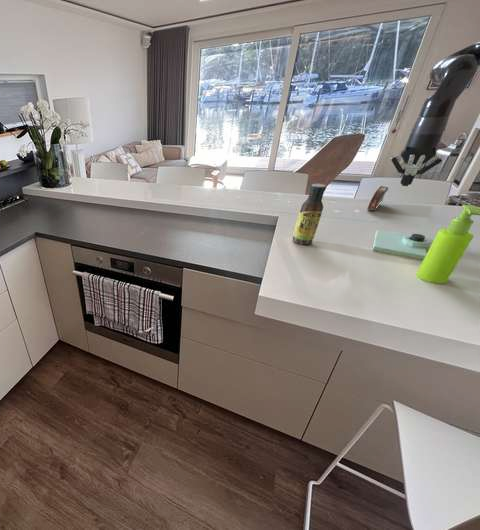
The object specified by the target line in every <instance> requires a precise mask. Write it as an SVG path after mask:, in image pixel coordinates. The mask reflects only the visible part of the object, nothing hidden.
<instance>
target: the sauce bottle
mask: <svg viewBox="0 0 480 530" xmlns="http://www.w3.org/2000/svg"><path fill="white" fill-rule="evenodd" d="M326 190H327V185H326V184H323V183H313V184H311V186H310V191H309V194H308V196H307V198H306V200H305V201H304V202H303V203H302V204H301V207H300V210H299V212H298V216H297V219H296V223H295V227H294V230H293V233H292V239H293V240H292V239H291V240H292V242H294V241H295V242H297V243H302V244H308V245H311V244H312V242H313V240H314V239H315V235H316V233H317V229H318V226H319V223H320V221H321V218H322V215H323V210H324V204H323V201H322V200H323V196H324V193H325V192H326ZM295 242H294V243H295ZM297 243H296V244H297ZM310 243H311V244H310ZM302 244H301V245H302Z"/></svg>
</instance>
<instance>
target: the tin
mask: <svg viewBox="0 0 480 530" xmlns="http://www.w3.org/2000/svg"><path fill="white" fill-rule="evenodd" d="M388 190H389V187H388V186H383V185H380V186H379V187H378V188H377V189H376V190H375V192H374V193H373V194H372V195H373V196H372V197H371V200H370V202H369V203H368V205H367V209H369V210H368V211H372V210H375V211H376V210H377V209H376V207H377V206H378V205H379V203H380V202H381V201H382V202H383V200H384V197H385V195H386V193H387V192H388ZM382 202H381V203H382ZM379 206H380V205H379Z"/></svg>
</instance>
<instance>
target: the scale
mask: <svg viewBox="0 0 480 530" xmlns="http://www.w3.org/2000/svg"><path fill="white" fill-rule="evenodd" d="M412 234H413V233H405V232H399V231H392V230H387V229H386V230H385V229H380V228H377V229H376V231H375V235H374V240H373V246H372V251H375V252H379V253H385V254H391V255H395V256H401V257H406V258H412V259H416V260H422V261H423V260H424V258H425V256H426V254H427V248H428V247H429V246H430V245H431V244H430V243H431V240H430V239H429V238H427V237H425V238H424V240H423V242H417V241H413V240H411V239H410V238H411V236H412Z"/></svg>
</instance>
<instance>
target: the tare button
mask: <svg viewBox="0 0 480 530" xmlns="http://www.w3.org/2000/svg"><path fill="white" fill-rule="evenodd" d="M411 234H412V236H411V238H410V239H411V240H413V241H417V242H423V240H424V238H426V236H425V235H424V234H419V233H411Z"/></svg>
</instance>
